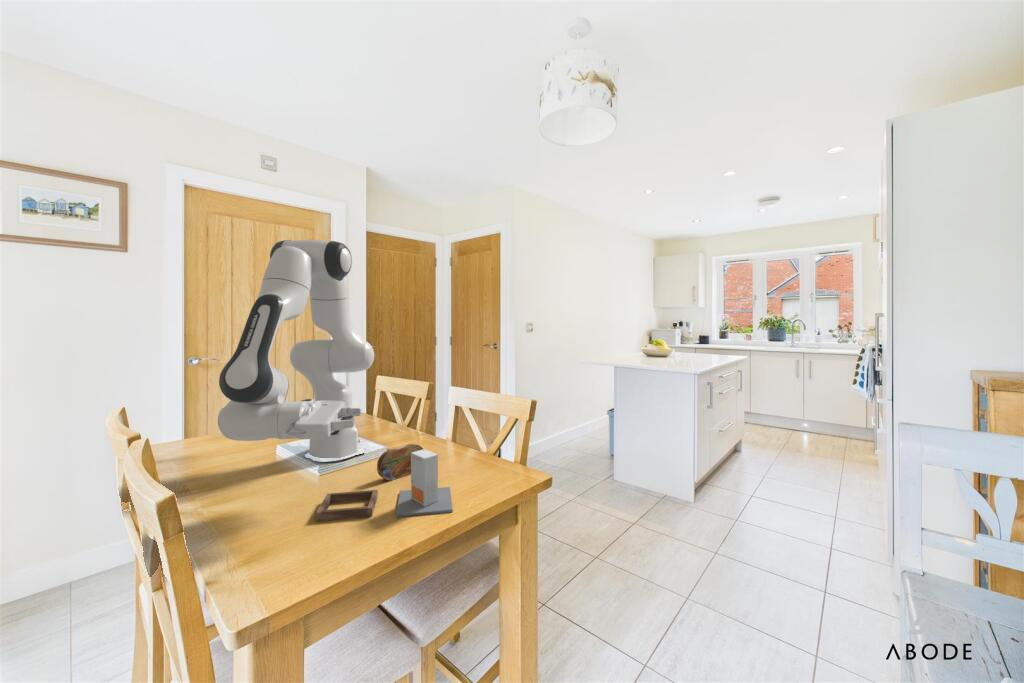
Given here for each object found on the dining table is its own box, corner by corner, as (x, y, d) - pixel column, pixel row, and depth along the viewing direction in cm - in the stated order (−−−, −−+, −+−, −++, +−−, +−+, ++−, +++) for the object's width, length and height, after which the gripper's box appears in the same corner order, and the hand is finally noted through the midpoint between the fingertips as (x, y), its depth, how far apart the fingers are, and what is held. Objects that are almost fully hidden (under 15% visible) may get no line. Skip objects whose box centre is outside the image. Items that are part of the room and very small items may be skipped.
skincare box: (410, 499, 98) (410, 452, 98) (424, 493, 101) (424, 448, 101) (424, 507, 94) (424, 458, 94) (438, 501, 97) (438, 454, 97)
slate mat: (400, 493, 103) (400, 490, 103) (449, 489, 106) (449, 486, 106) (395, 517, 90) (395, 514, 90) (452, 512, 93) (452, 509, 93)
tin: (381, 484, 109) (381, 454, 108) (375, 481, 111) (375, 452, 110) (425, 469, 120) (425, 442, 120) (419, 466, 122) (419, 440, 122)
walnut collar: (327, 501, 98) (327, 493, 98) (377, 497, 101) (377, 489, 100) (316, 521, 88) (315, 512, 88) (371, 516, 91) (371, 508, 91)
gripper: (281, 420, 85) (349, 417, 88) (309, 397, 105) (363, 395, 108) (282, 448, 85) (349, 444, 88) (309, 420, 105) (364, 417, 108)
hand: (357, 417), depth 98 cm, fingers open, 8 cm apart
